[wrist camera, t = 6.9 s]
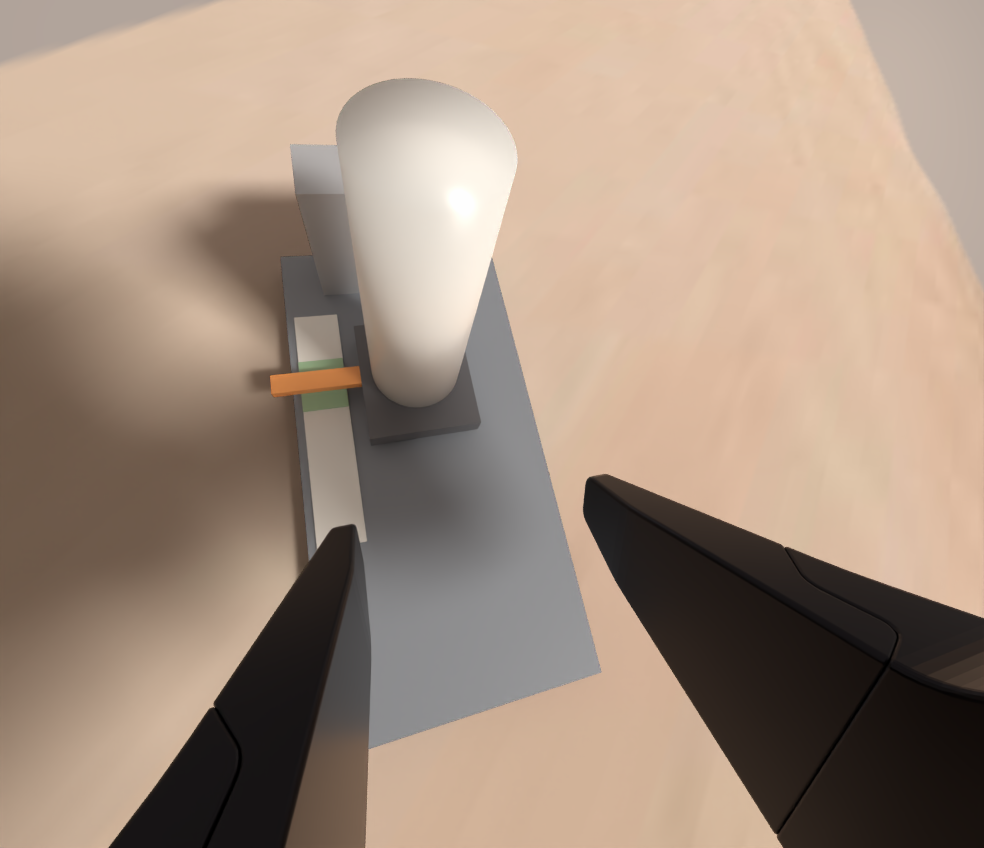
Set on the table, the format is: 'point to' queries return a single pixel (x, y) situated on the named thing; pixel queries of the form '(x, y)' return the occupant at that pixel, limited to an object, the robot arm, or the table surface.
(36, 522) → the table surface
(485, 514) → the gauge board
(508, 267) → the table surface
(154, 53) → the table surface
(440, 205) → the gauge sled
